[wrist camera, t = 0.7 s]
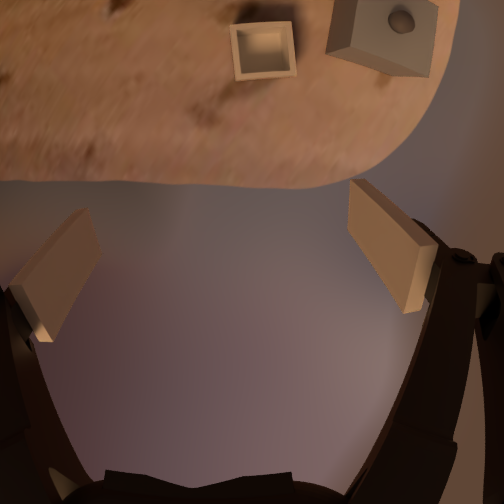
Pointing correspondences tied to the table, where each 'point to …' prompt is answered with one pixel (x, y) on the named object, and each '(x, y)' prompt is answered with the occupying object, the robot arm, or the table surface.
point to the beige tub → (262, 50)
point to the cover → (385, 35)
